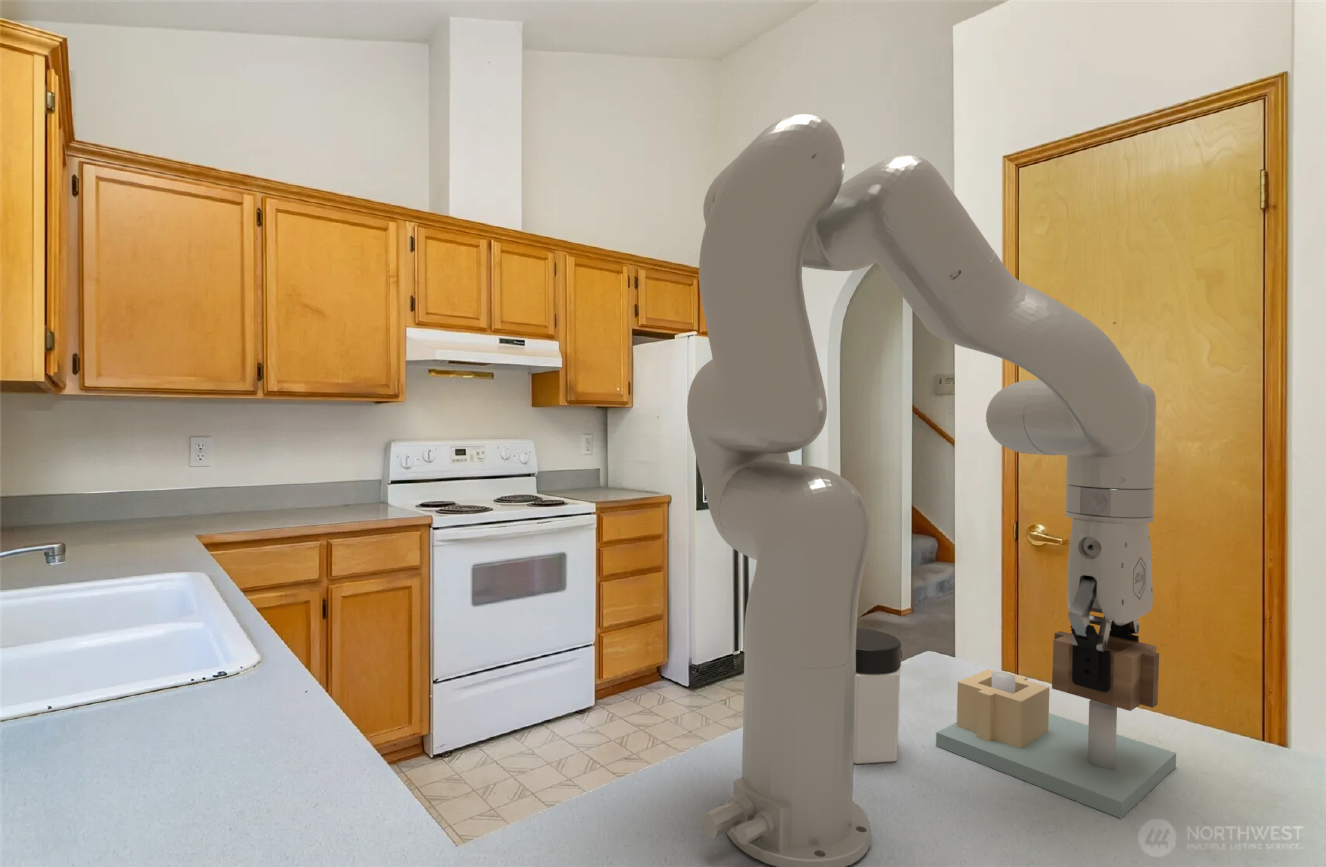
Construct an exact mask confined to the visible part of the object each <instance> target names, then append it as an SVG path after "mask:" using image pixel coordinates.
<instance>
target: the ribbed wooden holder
mask: <svg viewBox="0 0 1326 867" xmlns="http://www.w3.org/2000/svg"><path fill="white" fill-rule="evenodd" d="M1097 634H1099V632H1097ZM1071 639H1072V632H1071V633H1069V632H1065V631H1062V630H1061V631H1057V632H1055V633H1054V639H1053V643H1052V644H1053V645H1052V648H1053V649H1052V672H1051V673H1052V675H1051V676H1052V678H1051V680H1052V681H1051V689H1052V690H1056V691H1059V692H1063V693H1066V694H1069V695H1073V696H1077V697H1080V698H1084V699H1087V700H1089V701H1090V700H1094V701H1097V702H1100V703H1104V704H1107V705H1111V706H1114V707H1117V709H1118V708H1119V709H1122V710H1125V711H1129V712H1132V711H1133V710H1134V709H1136V708H1137V707H1139V706H1141V705H1142V706H1146V707H1148V708H1152V709H1153V708H1155V707H1156V706H1158V702H1159V700H1158V698H1159V672H1160V671H1159V670H1160V669H1159V668H1160V653H1159V652H1157V645H1154V644H1149V643H1145V642H1141V641H1139V642H1136V641H1131V640H1126V639H1122V638H1117V637H1113V636H1109V638H1108V643H1107V648H1106V650H1108V651H1111V669H1110V690H1109V691H1108V692H1100V691H1097V690H1093V689H1089V688H1086V687H1082V686H1078V685H1075V684H1074V683H1073V682H1072V652H1073V645H1072V642H1071Z"/></svg>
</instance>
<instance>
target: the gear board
mask: <svg viewBox="0 0 1326 867" xmlns="http://www.w3.org/2000/svg"><path fill="white" fill-rule="evenodd" d="M956 697H957V698H956V722H953V723H951V724H950V725H949V726H946V727H944V728H942V729H940V730H938V731H936V732H935V733H936V734H935V735H936V736H935V738H936V739H935V741H936V742H935V746H936V747H938V748H941V749H943V750H946V751H949V752H951V753H954V754H956V755H959V756H961V757H963V758H966V759H969V760H972V761H974V762H976V763H979V764H982V765H984V766H987V767H989V768H992V769H994V770H997V771H999V772H1001V773H1004V774H1006V775H1009V776H1012V777H1014V778H1017V779H1020V780H1023V781H1024V782H1026V783H1029V784H1032V785H1034V786H1037V787H1040V788H1041V789H1045V790H1047V791H1049V792H1052V793H1055V794H1057V795H1060V796H1062V797H1065V798H1068V799H1070V800H1073V801H1075V802H1078V803H1081V804H1082V805H1086V806H1088V807H1091V808H1092V809H1095V810H1099V811H1100V812H1103V813H1106V814H1108V815H1111V816H1113V817H1115V818H1118V819H1121V820H1122V819H1123V818H1124V817H1125V816H1126V815H1127V814H1128V813H1129V812H1130V811H1131V810H1133V808H1134V807H1135V806H1136V805H1137V804H1139V802H1141V801H1142V800H1143V799H1144V798H1145V797H1146V796H1147V795H1149V793H1150V792H1151V791H1152V790H1153V789H1154V788H1155V787H1156V786H1157V785H1158V784H1159V783H1161V782H1162V781H1163V780H1164V779H1165V778H1166V777H1167V776H1168V775H1169V774H1170V773H1171V772H1172V771H1173V770H1174V769H1175V768H1176V766H1177V765H1176V764H1177V752H1174V751H1171V750H1169V749H1166V748H1161V747H1158V746H1155V745H1153V744H1150V743H1149V744H1148V743H1146V742H1142V741H1140V740H1136V739H1133V738H1130V737H1127V736H1123V735H1120V734H1118V733H1117V727H1118V726H1117V724H1118V723H1117V722H1118V721H1117V720H1118V719H1117V718H1118V707H1114V706H1111V705H1107V704H1104V703H1100V702H1097V701H1094V700H1090V699H1089V700H1088V704H1089V705H1088V724H1085V723H1081V722H1079V721H1076V720H1072V719H1069V718H1065V717H1063V716H1060V715H1057V714H1054V713H1050V712H1049V711H1050V686H1047V685H1043V684H1040V683H1037V682H1033V681H1030V680H1028V677H1026V676H1022V675H1019V674H1011V673H1008V672H1004V671H1003V672H1002V671H995V670H991V669H985V670H983V671H980V672H977V673H975V674H973V675H971V676H968V677H966V678H964V679H961V680H959V681H957V696H956Z"/></svg>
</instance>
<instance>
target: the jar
mask: <svg viewBox="0 0 1326 867" xmlns="http://www.w3.org/2000/svg"><path fill="white" fill-rule="evenodd" d="M902 651H903V650H902V641H901V640H900V639H898V638H897V637H896V636H894V635H892V634H890V633H887V632H883V631H878V630H874V629H869V628H862V627H861V628H858V627H857V629H856V683H855V725H854V764H856V765H861V764H877V763H878V764H879V763H891V762H896V761H897V760H898V751H899V735H900V734H899V732H900V731H899V730H900V729H899V727H900V725H899V724H900V720H899V719H900V697H901V696H900V694H901V693H900V690H901V688H900V686H901V685H900V684H901V667H902V658H903V652H902Z"/></svg>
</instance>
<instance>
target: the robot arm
mask: <svg viewBox="0 0 1326 867" xmlns="http://www.w3.org/2000/svg"><path fill="white" fill-rule="evenodd" d="M845 162H846V160H845V151H844V146H843V142H842V140H841V137H840V136H839V134H838V131H837V130H836V128H835V127H834V126H833V125H832V124H831V122H829V121H827V119H825V118H823V117H821V116H820V115H819V116H818V115H815V114H811V113H799V114H794V115H790V116H787V117H783V118H781V119H779V120H777V121H775V122H774V123H772V124H770V125H769V126H768V127H766V128H765V129H764V130H763V131H761V133H760V134H759V135H757V136H756V137H755V138H754V140H752V141H751V143H749V145H748V146H746V147H745V148H744V149H743V150H742V151H741V152H740V153H739V154H738V155H737V157H735V158H734V159H733V160H732V161H731V162H730V163H728V164H727V166H725V168H724V169H722V170H721V171H720V172H719V174H718V175H717V176H716V177H715V178H714V179H713V180H712V182H711V184H710V185H709V187H708V189H707V192H706V193H705V194H706V195H705V196H704V202H703V206H702V207H703V208H702V209H703V210H702V211H703V220H704V223H705V227H704V230H703V231H704V232H703V236H702V239H701V244H700V245H701V246H700V251H699V259H698V260H699V261H698V262H699V263H698V281H699V291H700V292H699V293H700V299H701V304H702V305H701V306H702V311H703V315H704V320H705V326H706V331H707V336H708V341H709V342H708V343H709V346H710V351H711V357H712V359H710V360H708V361H707V362H706V363H705V364H704V365H703V366H702V367H701V368H700V369H699V370H698V371H697V373H696V374H695V376H694V377H693V380H692V382H691V384H690V387H689V390H688V395H687V402H686V404H687V405H686V408H687V409H686V410H687V413H686V414H687V422H688V428H689V432H690V438H691V441H692V445H693V451H694V454H695V458H696V462H697V467H698V471H699V474H700V478H701V483H702V486H703V490H704V494H705V498H706V503H707V505H708V509H709V513H710V516H711V519H712V522H713V523H714V526H715V528H716V530H717V532H718V534H719V535H720V536H721V538H722V540H723V541H724V542H725V543H726V544H727V545H729V547H730V548H732V549H733V550H735V551H737V552H738V553H740V554H742V555H744V556H746V557H748V558H750V559H753V560H755V561H756V565H755V570H754V576H753V580H752V583H751V586H750V590H749V594H748V597H747V603H746V609H745V618H744V619H745V620H744V633H743V634H744V638H743V641H744V642H743V648H744V657H743V658H744V660H743V661H744V662H743V664H744V666H743V703H742V706H743V712H742V751H741V752H742V755H741V756H742V758H741V759H742V760H741V763H742V764H741V777H739V778H737V779H735V780H734V781H733V792H732V793H731V794H730V795H729V796H728V798H727V799H726V800H725V803H724V805H720V806H717V807H715V808H712V809H710V810H709V811H707V812H704V813H702V815H701V816H700V825H701V829H702V832H704V835H705V836H706V837H707V838H708V839H710V840H711V839H712V840H713V839H715V838H717V837H719V836H722V835H725V833H726V835H727V836H728V838H729V839H730V840H731V841H732V843H733V844H735V845H736V847H737V848H739V849H740V850H741V851H742V852H743V853H744V854H747V855H749V856H750V857H752V858H754V859H756V860H757V861H760V862H762V863H765V864H767V865H771V866H773V867H848V866H852V865H854V863H856V862H857V861H859V860H861V859H862V858H863V857H864V856H865V854H866V853H867V852H868V850H869V849H870V846H871V841H872V840H871V839H872V826H871V822H870V819H869V818H868V815H867V813H866V812H865V811H864V810H863V809H862V808H861V806H860V805H859V804H857V803H856V802H855V801H854V800H853V798H854V767H855V766H854V764H855V763H854V725H855V683H856V629H857V628H858V626H857V625H858V611H859V610H858V609H859V601H860V600H859V599H860V593H861V592H860V590H861V585H862V579H863V574H864V570H865V567H866V566H865V565H866V561H867V559H868V558H867V557H868V552H869V547H870V542H871V521H870V519H871V518H870V516H869V515H870V514H869V510H868V507H867V506H866V503H865V501H864V498H863V497H862V496H861V494H860V492H859V491H858V489H856V488H855V486H854V485H853V484H852V483H851V482H849V481H848V479H845V478H844V477H842V476H841V475H839V474H837V473H836V472H833V471H831V470H828V469H826V468H822V467H818V466H812V465H807V464H805V465H804V464H796V463H791V461H790V456H789V453H792V452H797V451H799V450H801V449H804V448H805V447H807V446H809V445H810V444H812V443H813V442H814V441H815V440H816V439H817V438H818V437H819V435H820V434H821V433H822V431H823V429H824V426H825V424H826V420H827V415H828V403H827V395H826V389H825V385H824V380H823V379H824V378H823V376H822V371H821V366H820V363H819V359H818V354H817V351H816V350H817V349H816V346H815V341H814V337H813V333H812V329H811V324H810V320H809V315H808V311H807V306H806V300H805V293H804V286H803V275H802V274H803V268H807V269H808V268H809V269H813V270H821V271H833V272H849V271H857V270H860V269H863V268H867V267H869V266H872V265H874V264H875V265H876V264H877V265H878V266H879V267H880V268H881V270H882V272H884V274H885V275H886V276H887V278H888V279H889V280H890V282H891V283H892V284H893V286H894V287H895V288H896V290H898V291H897V292H899V293H900V295H901V297H902V298H903V299H904V300H905V302H906V303H907V305H908V306H909V307H910V308H911V310H912V311H913V313H914V314H915V315H916V316H917V318H918V319H919V320H920V321H921V323H922V324H923V326H924V327H925V329H927V331H928V332H929V333H930V334H931V335H933V336H935V337H936V338H938V339H941V340H943V341H945V342H947V343H951V344H954V345H956V346H959V347H961V348H966V349H970V350H974V351H977V352H980V353H985V354H988V355H990V356H991V355H992V356H994V357H996V358H1000V359H1002V360H1005V361H1007V362H1009V363H1012V364H1013V365H1016V366H1017V367H1020V368H1022V369H1023V370H1025V371H1026V372H1027V373H1030V374H1031V375H1032V376H1034V377H1036V379H1027V380H1022V381H1021V380H1020V381H1017V382H1014V383H1011V384H1009V385H1007V386H1004V387H1003V388H1001V389H1000V390H999V391H997V392H996V394H994V396H993V397H992V398H991V400H989V403H988V406H987V408H986V412H985V413H986V415H985V419H986V420H985V422H986V427H987V429H988V431H989V433H990V435H991V437H992V438H993V439H994V441H996V442H997V443H998V444H999V445H1001V446H1002V447H1004V448H1006V449H1008V450H1010V451H1014V452H1017V453H1020V454H1029V455H1042V456H1066V478H1065V480H1066V481H1065V483H1066V486H1065V517H1066V518H1070V519H1072V522H1071V529H1070V530H1071V531H1070V537H1069V538H1070V539H1069V548H1068V560H1067V575H1066V576H1067V577H1066V578H1067V579H1066V604H1067V609H1068V615H1067V616H1068V620H1069V623H1070V631H1071V633H1072V639H1071V642H1072V645H1073V652H1072V682H1073V683H1074V684H1075V685H1078V686H1082V687H1086V688H1089V689H1093V690H1097V691H1100V692H1108V691H1109V690H1110V669H1111V651H1108V650H1106V648H1107V643H1108V638H1109V636H1113V637H1117V638H1122V639H1126V640H1131V641H1136V642H1140V639H1139V638H1140V637H1139V635H1138V634H1139V632H1140V622H1139V618H1141V617H1143V616H1145V615H1147V614H1148V613H1150V612H1151V611H1152V609H1153V605H1154V603H1153V602H1154V597H1153V596H1154V595H1153V594H1154V593H1153V591H1154V590H1153V569H1152V567H1153V564H1152V563H1153V562H1152V545H1151V535H1150V527H1149V524H1151V523H1154V520H1155V519H1154V518H1155V516H1154V515H1155V468H1156V467H1155V466H1156V464H1155V463H1156V423H1157V422H1156V420H1157V418H1156V415H1157V400H1156V399H1157V398H1156V394H1155V391H1154V390H1153V387H1150V385H1148V384H1146V383H1143V382H1140V381H1139V380H1138V378H1137V376H1136V375H1135V373H1134V372H1133V370H1132V368H1131V367H1130V365H1129V364H1128V363H1127V360H1126V359H1125V358H1124V357H1123V354H1121V352H1120V350H1119V349H1118V348H1117V346H1116V344H1115V343H1114V342H1113V341H1112V340H1111V339H1110V338H1109V336H1108V335H1107V334H1106V333H1105V332H1104V331H1103V330H1102V329H1101V328H1099V327H1098V326H1097V325H1096V324H1095V323H1093V322H1092V321H1091V320H1089V319H1088V318H1086V317H1085V316H1083V315H1082V314H1081V313H1079V312H1077V311H1075V310H1074V309H1072V308H1070V307H1068V306H1067V305H1066V304H1064V303H1062V302H1060V301H1058V300H1056V299H1055V298H1053V297H1051V296H1050V295H1048V294H1046V293H1045V292H1043V291H1040V290H1038V289H1037V288H1034V287H1032V286H1030V285H1028V284H1026V283H1023V282H1022V281H1020V280H1018V279H1017V278H1016V277H1015V276H1013V274H1012V273H1011V272H1010V270H1008V269H1007V267H1006V266H1005V265H1004V263H1003V262H1002V260H1001V259H1000V257H999V256H998V254H997V253H996V251H995V250H994V249H993V247H992V246H991V245H990V243H989V242H988V241H987V240H988V239H986V238H985V236H984V234H982V232H981V230H980V229H979V228H978V226H977V225H976V223H975V222H974V220H973V219H972V218H971V216H970V214H969V213H968V211H967V210H966V208H965V207H964V206H963V204H962V203H961V201H960V200H959V199H958V197H957V196H956V194H955V193H954V191H953V190H952V188H950V186H949V184H948V183H947V181H946V180H945V178H944V177H943V176H942V174H941V173H940V172H939V170H938V169H937V168H936V167H935V166H934V165H933V164H932V163H930V162H929V161H928V160H926V159H925V158H924V157H921V156H918V155H914V154H902V155H901V154H900V155H895V156H893V157H892V156H891V157H889V158H886V159H884V160H881V161H879V162H877V163H875V164H873V165H872V166H869V167H868V168H866V169H863V170H862V171H861V172H858V173H857V174H855V175H853V176H852V177H851V178H849V179H847V180H845V181H844V175H845V169H846V163H845ZM843 181H844V182H843ZM1091 612H1093V613H1098V614H1102V615H1103V617H1102V616H1098V615H1093V614H1091ZM1094 625H1096V626H1099V629H1098V632H1097V630H1096V628H1095V626H1094ZM1097 633H1099V634H1097Z"/></svg>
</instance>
